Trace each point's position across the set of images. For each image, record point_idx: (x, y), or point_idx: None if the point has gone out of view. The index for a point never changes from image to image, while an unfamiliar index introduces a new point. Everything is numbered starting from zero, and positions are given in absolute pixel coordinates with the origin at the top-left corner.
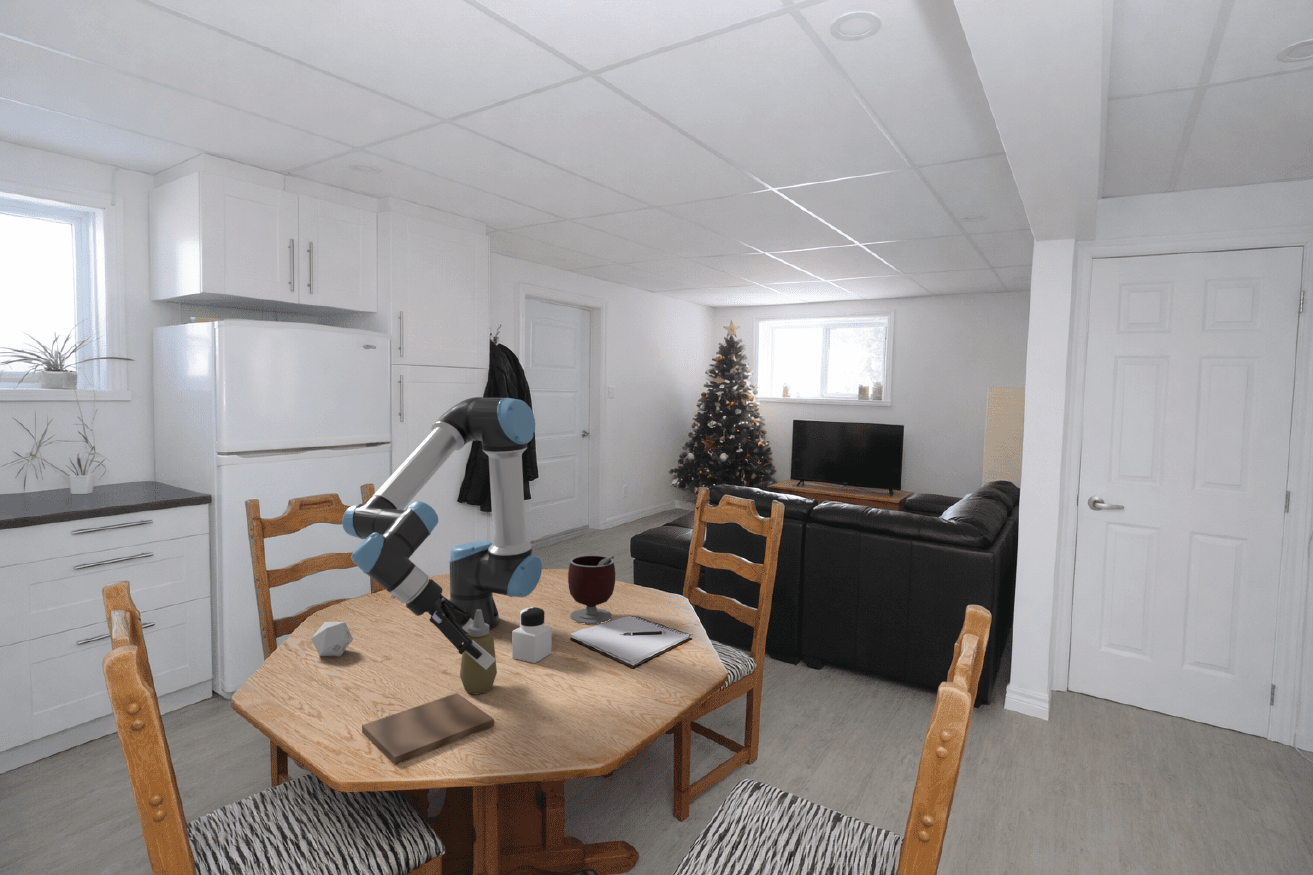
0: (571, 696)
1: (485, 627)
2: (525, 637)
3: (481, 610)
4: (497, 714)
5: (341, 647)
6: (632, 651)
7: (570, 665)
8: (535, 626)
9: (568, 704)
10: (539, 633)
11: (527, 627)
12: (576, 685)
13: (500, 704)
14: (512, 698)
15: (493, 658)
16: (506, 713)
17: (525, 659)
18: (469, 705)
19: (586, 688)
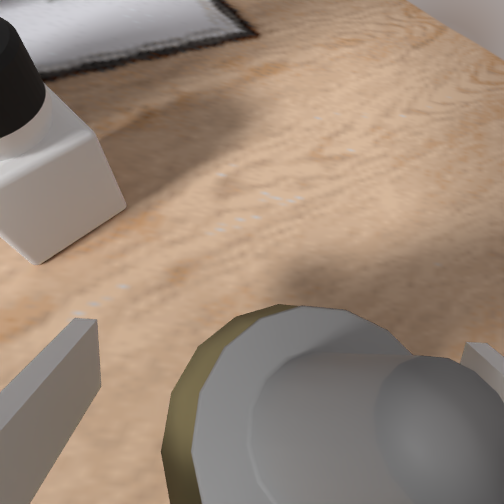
0: (378, 170)
1: (386, 354)
2: (54, 172)
3: (443, 358)
4: None
5: None
6: (166, 12)
7: (186, 130)
8: (45, 100)
9: (422, 186)
10: (75, 115)
11: (26, 130)
12: (316, 146)
13: None
14: (365, 317)
15: (497, 352)
16: None
17: (91, 227)
18: None
19: (339, 132)
